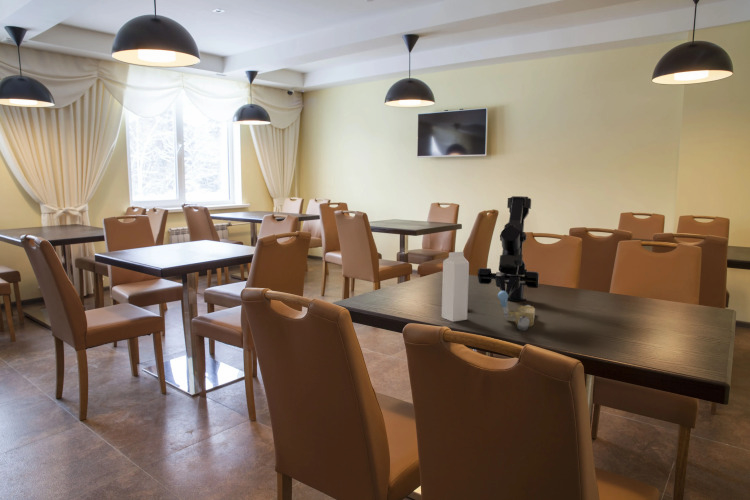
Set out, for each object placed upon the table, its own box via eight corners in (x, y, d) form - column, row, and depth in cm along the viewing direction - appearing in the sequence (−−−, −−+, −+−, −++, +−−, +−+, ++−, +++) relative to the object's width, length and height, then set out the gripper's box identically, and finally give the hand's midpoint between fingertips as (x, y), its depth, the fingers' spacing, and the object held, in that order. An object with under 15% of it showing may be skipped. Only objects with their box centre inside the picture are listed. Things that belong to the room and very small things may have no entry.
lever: (502, 309, 164) (497, 288, 149) (511, 309, 163) (508, 289, 148) (501, 317, 163) (496, 298, 148) (510, 318, 162) (507, 299, 147)
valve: (512, 312, 172) (512, 300, 172) (535, 314, 170) (536, 302, 169) (505, 329, 152) (505, 315, 151) (531, 332, 149) (532, 318, 149)
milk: (467, 319, 163) (470, 252, 160) (452, 321, 160) (455, 253, 157) (455, 315, 168) (458, 250, 165) (440, 317, 165) (443, 251, 162)
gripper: (479, 243, 161) (472, 283, 153) (540, 246, 155) (536, 288, 146) (482, 263, 170) (475, 302, 161) (540, 267, 163) (536, 308, 155)
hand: (505, 300), depth 156 cm, fingers closed
